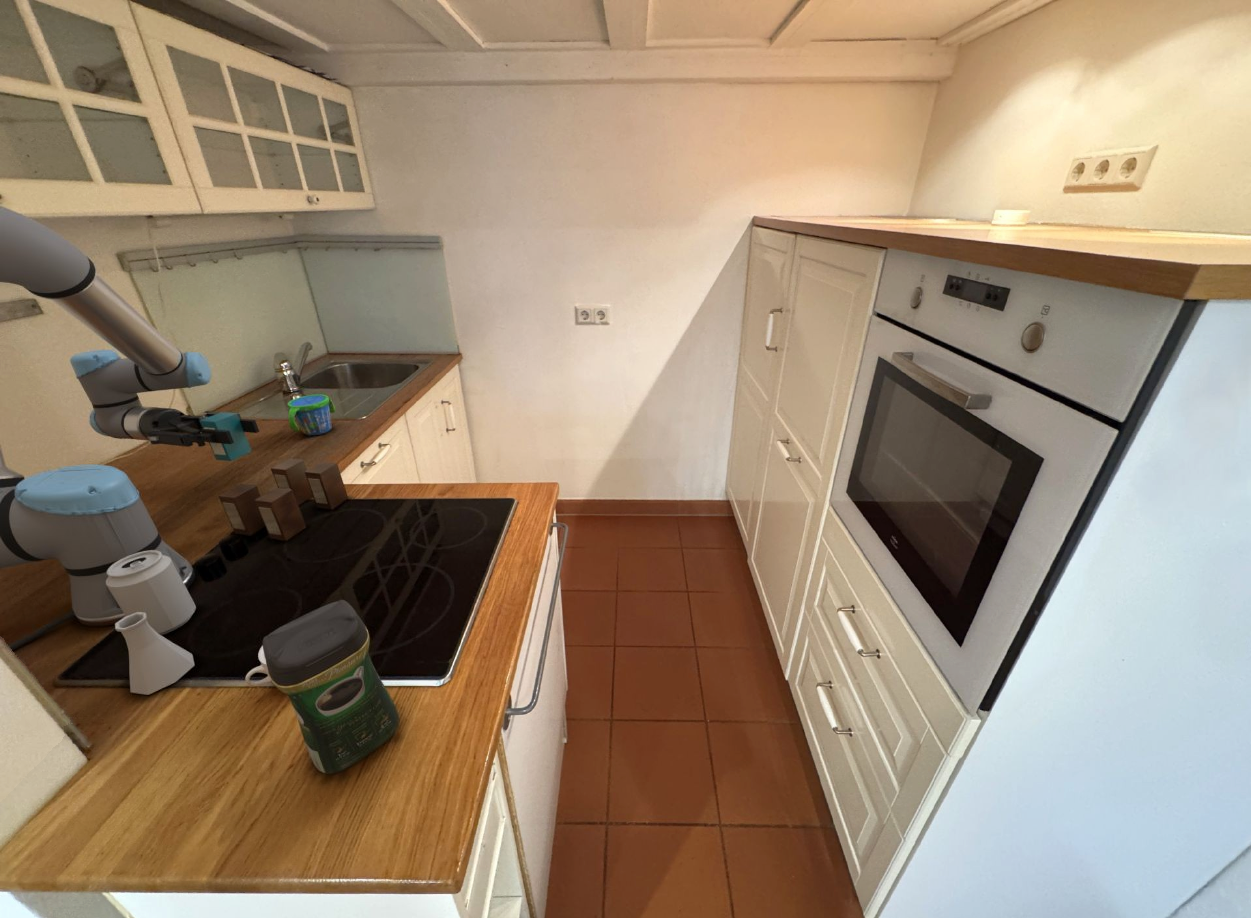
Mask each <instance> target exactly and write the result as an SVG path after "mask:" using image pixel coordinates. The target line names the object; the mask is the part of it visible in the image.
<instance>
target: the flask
mask: <svg viewBox="0 0 1251 918" xmlns="http://www.w3.org/2000/svg"><path fill="white" fill-rule="evenodd" d="M114 627H115V628H114V629H115V631H116V632H119V633H120V632H121V634H122V637H123V638H124V639H125V643H126V647H127V649H128V659H129V660H128V661H129V662H128V663H129V666H128V667H129V687H130V690H129V691H130V693H131V694H139V695H147V696H148V695H151V694H153V693H156V692H157V691H159V690H162V689H163V688H166V687H169V686H171V685H172V684H174V683H176V682H178V681H179V680H180V679H181V678H182V677H183V676H185V674H187V673H188V672H189V671H190V670H191V669H192V668H194V667H195V661H194V656H193V654H192V653H191V652H189V650H188V651H187V650H186V649H184V648H183V647H181V646H179V645H178V644H176V643H173V641H171V640H169V639H167V638H166V637H164V636H163V635H159V634H158V633H157V632H156V631H155V630H154V629H153V628H152V627H151V626H150V625H149V624H148V622H147V616H146V613H142V612H136V613H134V614H131V615H128V616H126V617H124V618H123V619H121V620H120V621H118V622H117V623H115V624H114Z"/></svg>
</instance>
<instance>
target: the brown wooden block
mask: <svg viewBox="0 0 1251 918" xmlns="http://www.w3.org/2000/svg"><path fill="white" fill-rule="evenodd" d="M260 496H261V497H259V498H257V499H256V500H254V501H255V503H256V505H257V508H258V510H259V513H260V515H261V517H262V520H263V522H264V525H265V527H264V528H265V530H266V531H267V534H268V536H269V539H271V540H277V541H284V542H287V541H288V540H290V539H291V538H293V537H294V536H296V535H298V534H299V533H300V532H301V531H303V530H304V529H306V528H307V526H306V523H305V520H304V517H303V515H302V511H301V508H300V505H298V504H297V501H296V498H295V496H294V493H293V490H291V489H283V488H278V487H275V488H273V489H271V490H269V491H267V492H266V493H265V494H263V495H260Z"/></svg>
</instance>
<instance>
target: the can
mask: <svg viewBox="0 0 1251 918" xmlns="http://www.w3.org/2000/svg"><path fill="white" fill-rule="evenodd" d="M107 575H109V576H108V578H107V580H106V585H107V587H108V588H109V590H110V592H111V593H112V595H113V596H114V598H115V600H116V601H117V603H118V604H119V606H120V608H121V609H122V611H123V613H124V614H125V616H128V615H131V614H134V613H136V612H142V613H146V616H147V622H148V624H149V625H150V626H151V627H152V628H153V629H154V630H155V631H156V632H157V633H158V634H159V635H161V636H163V635H166V634H168V633H171V632H174V631H175V630H177V629H179V628H180V627H182V626H184V625H185V624H186V623H187V622H189V620H190V619H191V618H192V616H193V614H194V613H195V611H196V609H197V606H196V604H195V601H194V599H193V598H192V596H191V594H190V592H189V590H188V589H187V588H186V587H185V585H184V583H183V581H182V579H181V577H180V575H179V573H178V572H177V570H176V568H175V566H174V564H173V562H172V560H171V558H170V557H168V556H164V555H162V553H161V552H159V551H155V550H150V551H143V552H139V553H135V554H132V555H129V556H127V557H125V558H123V559H121V560H119V561H117V562H115V563H114V564H113V565H112V566H110V567H109V569H108V570H107Z"/></svg>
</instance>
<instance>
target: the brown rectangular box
mask: <svg viewBox="0 0 1251 918" xmlns="http://www.w3.org/2000/svg"><path fill="white" fill-rule="evenodd" d="M307 470H308V468H307V465H306V461H305V460H304V459H301V458H288V459H286V460H284V461H281V462H280V463H278V464H276V465H274V466H273V467H270V471H271V474H272V476H273V478H274V481H275V484H276V486H277V488H283V489H291V490H293V493H294V496H295V498H296V501H297V504H298V506H300V505H301V504H303V503H304V502H306V501H308V500H310V499H311V498H313V495H312V492H311V489H310V487H309V484H308V481H307V478H306V475H305V471H307Z"/></svg>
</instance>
